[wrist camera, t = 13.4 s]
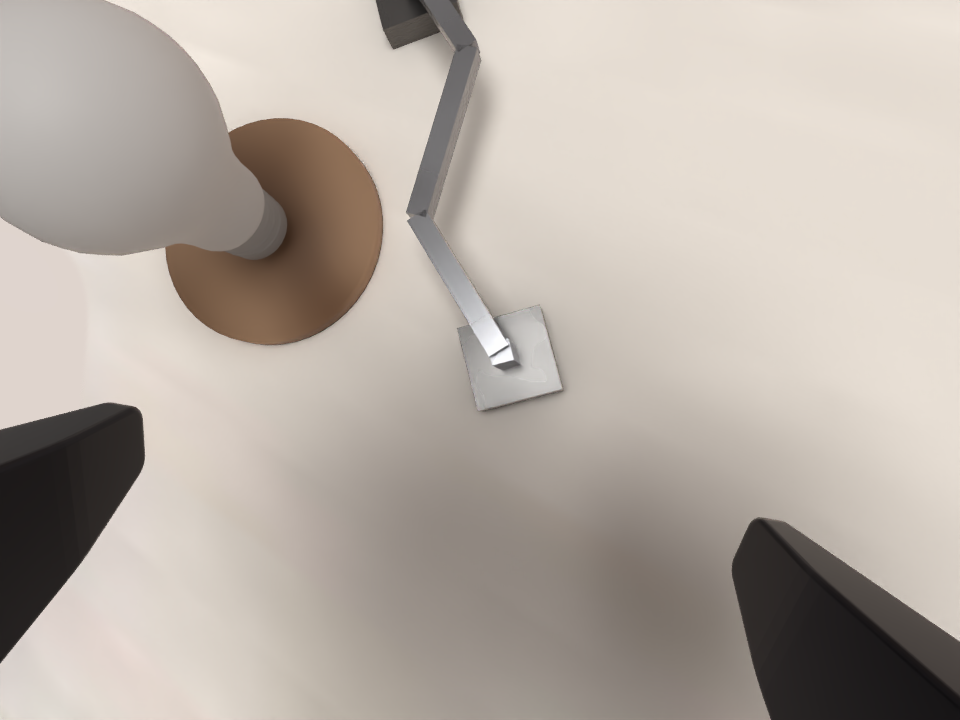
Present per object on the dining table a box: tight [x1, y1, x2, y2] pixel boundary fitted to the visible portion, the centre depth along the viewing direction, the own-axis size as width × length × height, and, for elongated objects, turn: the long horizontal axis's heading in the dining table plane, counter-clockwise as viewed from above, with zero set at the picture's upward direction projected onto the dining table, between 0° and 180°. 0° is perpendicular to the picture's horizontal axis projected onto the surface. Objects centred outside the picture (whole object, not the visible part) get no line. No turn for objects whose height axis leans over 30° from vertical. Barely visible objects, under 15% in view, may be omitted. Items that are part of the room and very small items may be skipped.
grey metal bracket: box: [376, 0, 563, 411], centre depth 20 cm, size 18×4×4 cm, turn 14°
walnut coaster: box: [165, 118, 383, 345], centre depth 23 cm, size 9×9×1 cm
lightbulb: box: [0, 0, 287, 260], centre depth 17 cm, size 6×6×11 cm
